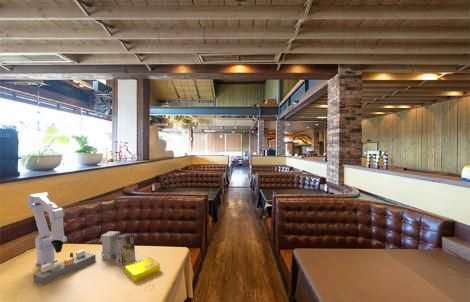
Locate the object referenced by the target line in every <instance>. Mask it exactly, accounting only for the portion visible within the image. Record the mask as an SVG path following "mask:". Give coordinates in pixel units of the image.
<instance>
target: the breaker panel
mask: <svg viewBox="0 0 470 302" xmlns="http://www.w3.org/2000/svg"><path fill="white" fill-rule="evenodd" d="M73 258H74V263H73V264H71V265H68V266H65V265H64V261H63V262H60V263H57V264H54V265H52V269H51V270H48V271H46V272H42V271H38V272H37V271H36V273H33V282H34V283H37V284H39V285H41V286H44V285H47V284H49V283H51V282H53V280H54V281H56V280H57V278H58V279H60V278H62V277H64V276H66V274H67V275H69V274H71V273H73V272H75V271H77V270H80V269H81V267H82V268H84V267H86V266H88V265H90V264H93V263H94V261H95V262H96V261H97V260H96V259H97V258H96V254H94V253H91V252H86V251H85V255H84V256H82V257H79V258H78V257H76V256H73ZM68 273H69V274H68ZM63 275H64V276H63ZM61 276H62V277H61ZM59 277H60V278H59ZM55 279H56V280H55Z"/></svg>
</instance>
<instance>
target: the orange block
mask: <svg viewBox="0 0 470 302" xmlns="http://www.w3.org/2000/svg"><path fill="white" fill-rule="evenodd" d="M63 262H64V265H65V266H68V265H71V264H73V263H74V256H73V257H71V258H70V257H68V258H65V259H64V261H63Z"/></svg>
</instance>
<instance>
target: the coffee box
mask: <svg viewBox="0 0 470 302" xmlns="http://www.w3.org/2000/svg"><path fill="white" fill-rule="evenodd" d="M115 251H116V258H115V264H116V265H119V266H121V267H122V266H124V265H125V266H126V265H128V264H130V263H131V262H132V261H136V247H135V234H134V233H130V232H126V233H124V234H120V236H118V237H115Z"/></svg>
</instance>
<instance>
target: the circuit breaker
mask: <svg viewBox="0 0 470 302" xmlns="http://www.w3.org/2000/svg"><path fill="white" fill-rule="evenodd" d="M100 236H101V237H100V242H101V245H102V249H101V255H100V256H101V259H102V258H103V259H104V260H114V259H116V251H115V237H118V236H121V231H114V230H113V231H112V230H111V231H109V230H108V231H107V232H105V233H103V234H101V235H100ZM103 259H102V260H103Z"/></svg>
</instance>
